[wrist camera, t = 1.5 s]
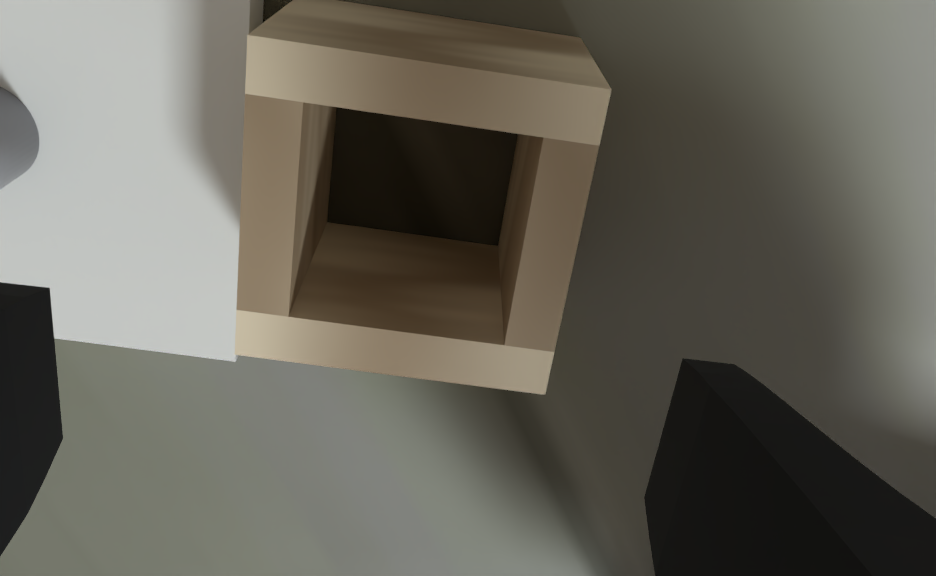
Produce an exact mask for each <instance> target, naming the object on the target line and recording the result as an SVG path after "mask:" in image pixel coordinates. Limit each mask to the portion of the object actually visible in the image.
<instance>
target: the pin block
mask: <svg viewBox="0 0 936 576" xmlns="http://www.w3.org/2000/svg"><path fill="white" fill-rule="evenodd" d="M263 4H264V0H0V282H2V283H11V284H20V285H29V286H38V287H47V288H50V297H51V309H52V320H53V332H54V338H57V339H64V340H72V341H80V342H88V343H95V344H103V345H111V346H118V347H126V348H134V349H142V350H149V351H157V352H165V353H172V354H180V355H188V356H196V357H203V358H211V359H219V360H226V361H234V362H236V360H237V358H238V355H235V332H236V307H237V282H238V257H239V232H240V207H241V182H242V157H243V132H244V107H245V82H246V57H247V35H248V34H249V33H251V32H252V31H253V30H254V29H256V28H257V27H258V26H260V25H261V24H262V23H263Z"/></svg>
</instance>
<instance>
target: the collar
mask: <svg viewBox="0 0 936 576" xmlns="http://www.w3.org/2000/svg"><path fill="white" fill-rule="evenodd" d="M611 91H612V89H611V88H610V86H609V84H608V83H607V81H606V79H605V78H604V76H603V74H602V73H601V71H600V69H599V68H598V66H597V64H596V63H595V61H594V59H593V58H592V56H591V54H590V53H589V51H588V49H587V48H586V46H585V44H584V43H583V41H582V39H581V38H580V37H574V36H567V35H561V34H554V33H548V32H541V31H534V30H528V29H521V28H515V27H508V26H502V25H495V24H489V23H482V22H476V21H469V20H463V19H456V18H450V17H443V16H437V15H430V14H424V13H417V12H411V11H404V10H398V9H391V8H385V7H378V6H372V5H365V4H359V3H352V2H346V1H339V0H292V1H291V2H290V3H288V4H287V5H286V6H284V7H283V8H282V9H281V10H279V11H278V12H277V13H275V14H274V15H273V16H271V17H270V18H269V19H267V20H266V21H265V22H264V23H262V24H261V25H260V26H258V27H257V28H256V29H254V30H253V31H252V32H251V33H249V34H248V35H247V57H246V82H245V107H244V132H243V157H242V182H241V207H240V232H239V257H238V282H237V307H236V332H235V355H242V356H249V357H257V358H265V359H272V360H280V361H288V362H296V363H303V364H311V365H319V366H326V367H334V368H342V369H349V370H357V371H365V372H373V373H380V374H388V375H396V376H403V377H411V378H419V379H426V380H434V381H442V382H449V383H457V384H465V385H473V386H480V387H488V388H496V389H503V390H511V391H519V392H526V393H534V394H542V395H545V393H546V389H547V384H548V380H549V375H550V370H551V366H552V361H553V357H554V352H555V348H556V343H557V338H558V334H559V329H560V325H561V320H562V315H563V311H564V306H565V302H566V297H567V292H568V288H569V283H570V279H571V274H572V270H573V265H574V260H575V256H576V251H577V247H578V242H579V237H580V233H581V228H582V224H583V219H584V214H585V210H586V205H587V201H588V196H589V192H590V187H591V182H592V178H593V173H594V169H595V164H596V159H597V155H598V150H599V146H600V141H601V136H602V132H603V127H604V123H605V118H606V114H607V109H608V104H609V100H610V95H611ZM337 107H339V108H346V109H352V110H359V111H366V112H373V113H380V114H386V115H393V116H400V117H407V118H414V119H421V120H427V121H434V122H441V123H448V124H455V125H461V126H468V127H475V128H482V129H489V130H496V131H502V132H509V133H516V134H518V136H517V142H516V148H515V153H514V159H513V165H512V170H511V176H510V182H509V187H508V193H507V199H506V204H505V210H504V216H503V221H502V227H501V233H500V238H499V244H498V246H494V245H487V244H480V243H473V242H466V241H459V240H451V239H444V238H437V237H430V236H423V235H415V234H408V233H401V232H394V231H387V230H380V229H372V228H365V227H358V226H351V225H344V224H336V223H329V222H327V217H328V205H329V193H330V181H331V170H332V158H333V146H334V134H335V123H336V111H337Z"/></svg>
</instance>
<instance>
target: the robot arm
mask: <svg viewBox="0 0 936 576" xmlns="http://www.w3.org/2000/svg"><path fill="white" fill-rule="evenodd" d="M62 439H63V435H62V423H61V412H60V400H59V389H58V377H57V366H56V355H55V343H54V332H53V320H52V309H51V297H50V288H47V287H38V286H29V285H20V284H11V283H2V282H0V556H1V554H2V553H3V551H4V550H5V548H6V547H7V545H8V543H9V542H10V540H11V539H12V537H13V536H14V534H15V533H16V531H17V530H18V528H19V526H20V525H21V523H22V522H23V520H24V518H25V517H26V515H27V514H28V512H29V510H30V508H31V506H32V504H33V502H34V500H35V498H36V496H37V493H38V491H39V489H40V487H41V485H42V483H43V481H44V479H45V477H46V475H47V473H48V470H49V468H50V466H51V464H52V461H53V459H54V457H55V455H56V453H57V450H58V448H59V446H60V444H61V441H62ZM644 499H645V506H646V514H647V522H648V530H649V538H650V544H651V551H652V557H653V564H654V570H655V575H656V576H936V519H935V518H934V517H933V516H931V515H930V514H928V513H927V512H926V511H924V510H923V509H921V508H920V507H919V506H917V505H916V504H915V503H913V502H912V501H910V500H909V499H908V498H906V497H905V496H903V495H902V494H901V493H899V492H898V491H897V490H895V489H894V488H893V487H891V486H890V485H889V484H887V483H886V482H885V481H883V480H882V479H881V478H879V477H878V476H877V475H876V474H874V473H873V472H872V471H870V470H869V469H868V468H866V467H865V466H864V465H863V464H861V463H860V462H859V461H858V460H856V459H855V458H854V457H852V456H851V455H850V454H849V453H847V452H846V451H845V450H844V449H842V448H841V447H840V446H839V445H837V444H836V443H835V442H834V441H832V440H831V439H830V438H829V437H827V436H826V435H825V434H824V433H823V432H821V431H820V430H819V429H818V428H816V427H815V426H814V425H813V424H811V423H810V422H809V421H808V420H807V419H805V418H804V417H803V416H802V415H800V414H799V413H798V412H797V411H795V410H794V409H793V408H792V407H791V406H789V405H788V404H787V403H786V402H784V401H783V400H782V399H781V398H779V397H778V396H777V395H776V394H774V393H773V392H772V391H771V390H769V389H768V388H767V387H766V386H764V385H763V384H762V383H760V382H759V381H758V380H756V379H755V378H754V377H752V376H751V375H750V374H748V373H747V372H745V371H744V370H742V369H741V368H739V367H738V366H736V365H734V364H727V363H718V362H709V361H700V360H691V359H683V360H682V363H681V367H680V370H679V374H678V378H677V381H676V385H675V389H674V392H673V396H672V399H671V403H670V407H669V410H668V414H667V418H666V421H665V425H664V428H663V432H662V436H661V439H660V443H659V447H658V450H657V454H656V457H655V461H654V465H653V468H652V472H651V475H650V479H649V483H648V486H647V490H646V494H645V497H644Z"/></svg>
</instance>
